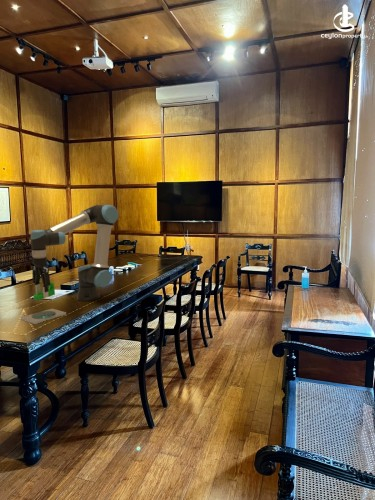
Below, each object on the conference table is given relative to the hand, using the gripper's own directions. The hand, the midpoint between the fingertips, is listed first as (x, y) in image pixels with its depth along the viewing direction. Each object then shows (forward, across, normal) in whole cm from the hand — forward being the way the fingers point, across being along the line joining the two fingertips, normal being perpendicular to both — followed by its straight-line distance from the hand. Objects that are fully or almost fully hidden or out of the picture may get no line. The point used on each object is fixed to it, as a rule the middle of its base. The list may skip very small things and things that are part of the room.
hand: (42, 296), depth 202 cm
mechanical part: (+1, 0, +1) cm, 1 cm away
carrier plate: (+12, 0, 0) cm, 12 cm away
